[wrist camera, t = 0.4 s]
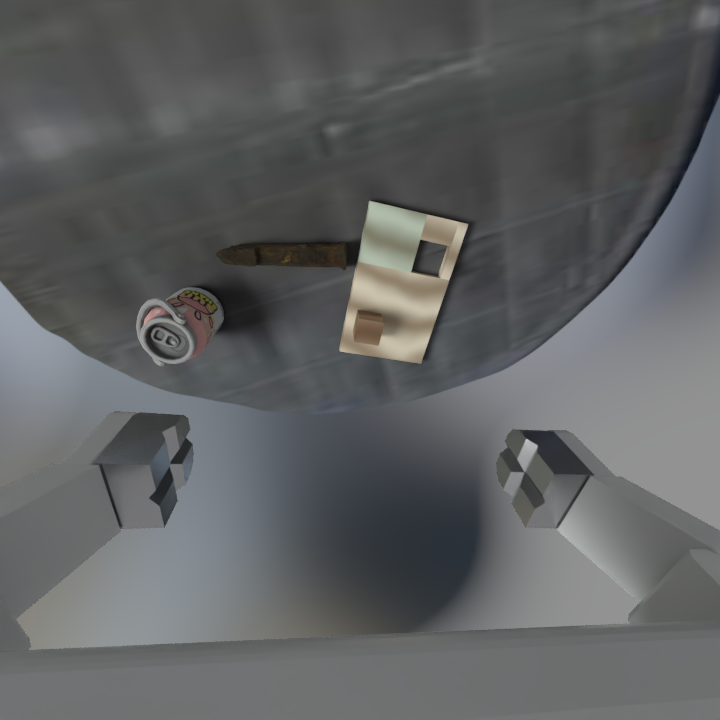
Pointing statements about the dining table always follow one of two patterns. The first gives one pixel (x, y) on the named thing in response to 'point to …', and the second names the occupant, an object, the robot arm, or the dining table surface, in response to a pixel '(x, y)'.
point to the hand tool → (286, 255)
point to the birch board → (399, 280)
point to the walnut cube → (368, 327)
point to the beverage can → (179, 325)
